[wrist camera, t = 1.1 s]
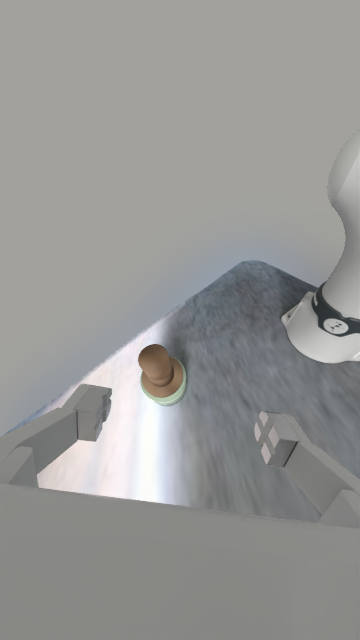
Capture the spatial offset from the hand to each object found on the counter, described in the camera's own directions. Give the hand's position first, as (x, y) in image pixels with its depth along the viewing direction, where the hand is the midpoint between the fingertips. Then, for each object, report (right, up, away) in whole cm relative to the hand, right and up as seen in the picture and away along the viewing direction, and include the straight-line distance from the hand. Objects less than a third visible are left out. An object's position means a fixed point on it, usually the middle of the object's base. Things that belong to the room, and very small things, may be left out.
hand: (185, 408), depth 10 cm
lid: (-4, -7, +28) cm, 29 cm away
